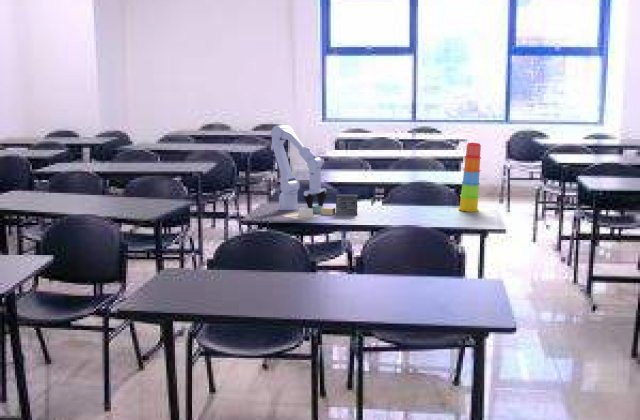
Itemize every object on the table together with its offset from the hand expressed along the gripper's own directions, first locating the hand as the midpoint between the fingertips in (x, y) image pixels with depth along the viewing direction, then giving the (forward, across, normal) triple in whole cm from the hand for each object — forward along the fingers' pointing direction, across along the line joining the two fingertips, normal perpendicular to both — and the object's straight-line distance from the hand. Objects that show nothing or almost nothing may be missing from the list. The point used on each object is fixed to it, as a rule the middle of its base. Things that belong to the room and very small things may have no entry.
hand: (315, 208), depth 371 cm
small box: (+3, +6, -16) cm, 17 cm away
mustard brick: (+3, 0, -9) cm, 9 cm away
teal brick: (+3, 0, 0) cm, 3 cm away
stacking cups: (+3, +59, -53) cm, 79 cm away
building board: (+3, -12, -2) cm, 12 cm away
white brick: (+2, -12, -5) cm, 13 cm away
